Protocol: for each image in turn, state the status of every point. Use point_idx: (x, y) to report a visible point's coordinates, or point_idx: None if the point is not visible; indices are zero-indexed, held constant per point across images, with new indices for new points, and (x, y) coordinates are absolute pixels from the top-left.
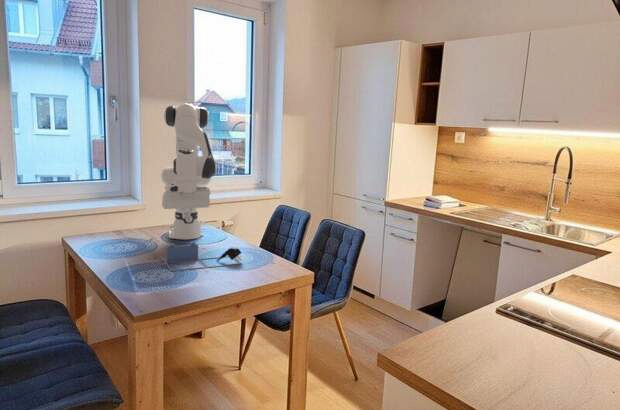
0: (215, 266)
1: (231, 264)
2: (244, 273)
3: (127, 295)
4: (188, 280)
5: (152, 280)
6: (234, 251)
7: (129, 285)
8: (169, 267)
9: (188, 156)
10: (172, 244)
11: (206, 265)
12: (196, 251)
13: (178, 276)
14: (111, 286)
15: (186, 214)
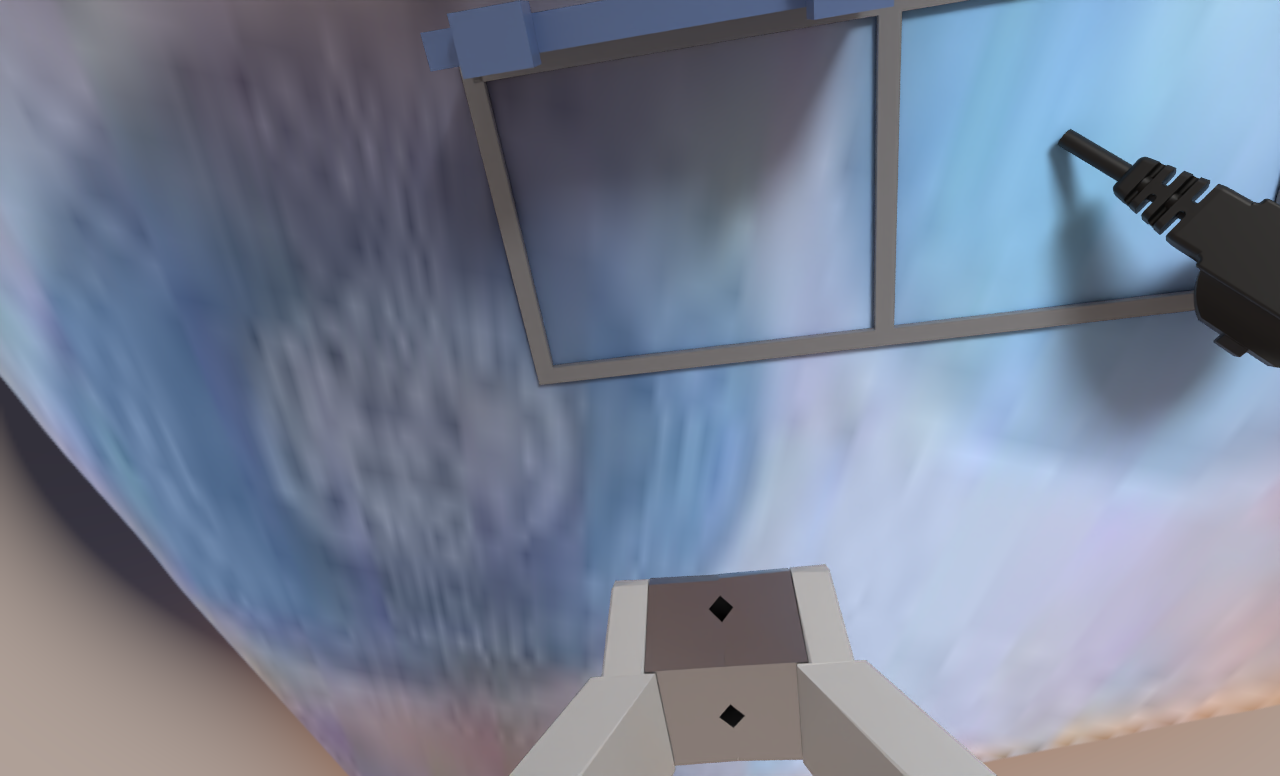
0: (965, 335)
1: (1149, 309)
2: (1122, 538)
3: (330, 707)
4: None
5: (422, 537)
6: None
7: (294, 587)
8: (524, 282)
9: None
10: (501, 66)
11: (889, 289)
12: None
13: (602, 499)
14: (188, 581)
15: (725, 760)
